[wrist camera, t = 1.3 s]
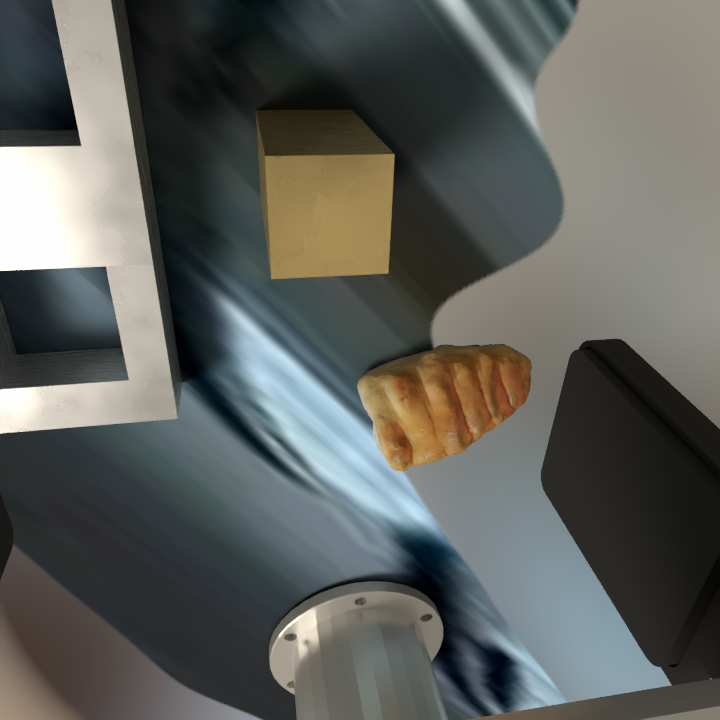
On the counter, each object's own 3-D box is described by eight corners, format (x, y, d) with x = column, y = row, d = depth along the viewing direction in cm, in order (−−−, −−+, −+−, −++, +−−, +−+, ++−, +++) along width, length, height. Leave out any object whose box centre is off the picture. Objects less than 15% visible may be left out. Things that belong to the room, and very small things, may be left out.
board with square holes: (182, 383, 31) (177, 418, 29) (-10, 397, 30) (-33, 435, 27) (108, -111, 21) (91, -124, 18) (-195, -127, 19) (-259, -144, 17)
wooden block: (350, 203, 28) (388, 273, 21) (261, 206, 27) (271, 278, 20) (351, 110, 26) (394, 154, 19) (255, 110, 25) (265, 156, 18)
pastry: (509, 306, 32) (539, 342, 29) (530, 399, 36) (559, 440, 33) (345, 370, 33) (357, 413, 30) (382, 456, 36) (397, 502, 33)
